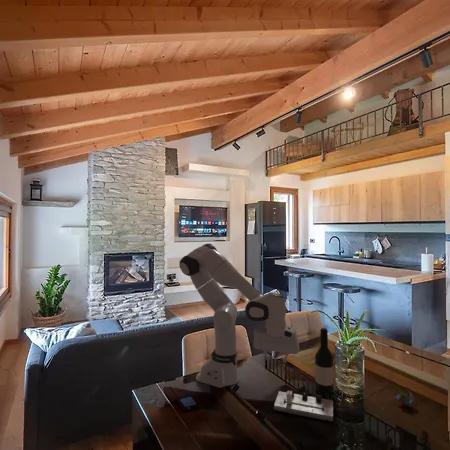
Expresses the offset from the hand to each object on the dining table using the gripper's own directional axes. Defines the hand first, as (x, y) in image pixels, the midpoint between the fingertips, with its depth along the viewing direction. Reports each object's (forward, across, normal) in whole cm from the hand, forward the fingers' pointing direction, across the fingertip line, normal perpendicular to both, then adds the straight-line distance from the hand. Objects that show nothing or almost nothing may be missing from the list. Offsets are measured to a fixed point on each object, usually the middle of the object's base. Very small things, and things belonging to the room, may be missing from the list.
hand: (275, 360), depth 137 cm
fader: (+17, +6, 0) cm, 18 cm away
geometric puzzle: (+20, +54, +19) cm, 60 cm away
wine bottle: (+20, +20, +21) cm, 35 cm away
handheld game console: (+20, -38, -14) cm, 45 cm away
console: (+19, +12, +2) cm, 23 cm away
